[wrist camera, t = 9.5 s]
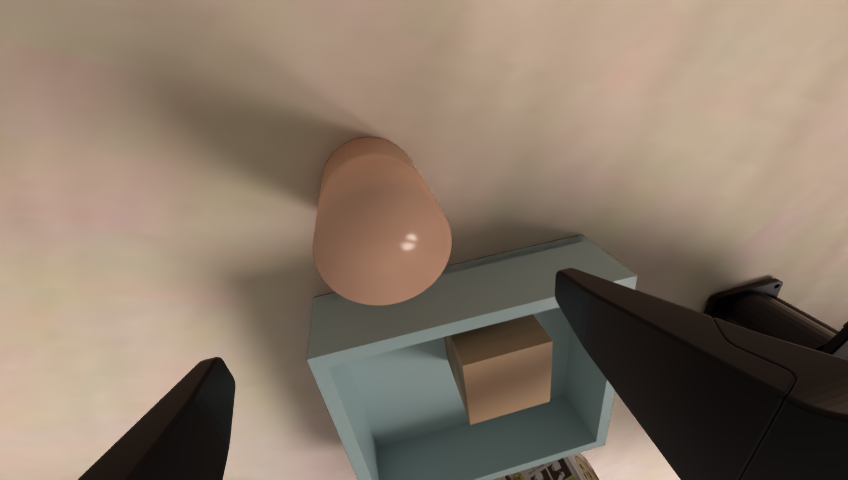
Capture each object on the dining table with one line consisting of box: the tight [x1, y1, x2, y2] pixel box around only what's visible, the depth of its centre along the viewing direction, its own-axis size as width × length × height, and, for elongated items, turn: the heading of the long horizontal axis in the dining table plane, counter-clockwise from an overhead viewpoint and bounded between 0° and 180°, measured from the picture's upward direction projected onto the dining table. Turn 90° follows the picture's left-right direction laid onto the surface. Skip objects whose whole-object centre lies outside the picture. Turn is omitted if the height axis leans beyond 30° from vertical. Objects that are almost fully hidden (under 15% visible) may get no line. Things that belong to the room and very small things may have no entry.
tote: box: [307, 235, 637, 480], centre depth 24 cm, size 18×16×5 cm
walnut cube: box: [444, 314, 553, 425], centre depth 22 cm, size 5×5×5 cm
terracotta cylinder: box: [313, 137, 452, 305], centre depth 16 cm, size 5×5×7 cm
